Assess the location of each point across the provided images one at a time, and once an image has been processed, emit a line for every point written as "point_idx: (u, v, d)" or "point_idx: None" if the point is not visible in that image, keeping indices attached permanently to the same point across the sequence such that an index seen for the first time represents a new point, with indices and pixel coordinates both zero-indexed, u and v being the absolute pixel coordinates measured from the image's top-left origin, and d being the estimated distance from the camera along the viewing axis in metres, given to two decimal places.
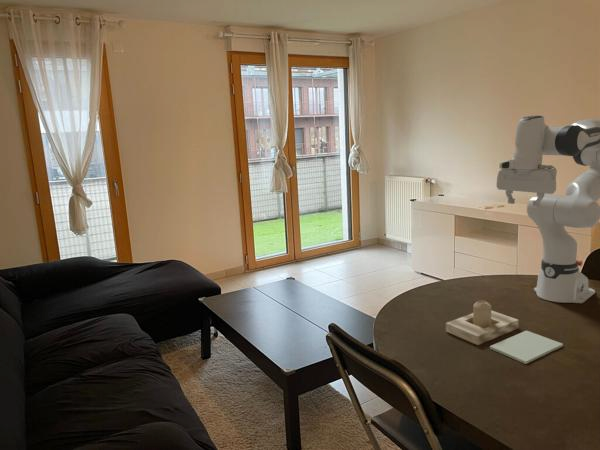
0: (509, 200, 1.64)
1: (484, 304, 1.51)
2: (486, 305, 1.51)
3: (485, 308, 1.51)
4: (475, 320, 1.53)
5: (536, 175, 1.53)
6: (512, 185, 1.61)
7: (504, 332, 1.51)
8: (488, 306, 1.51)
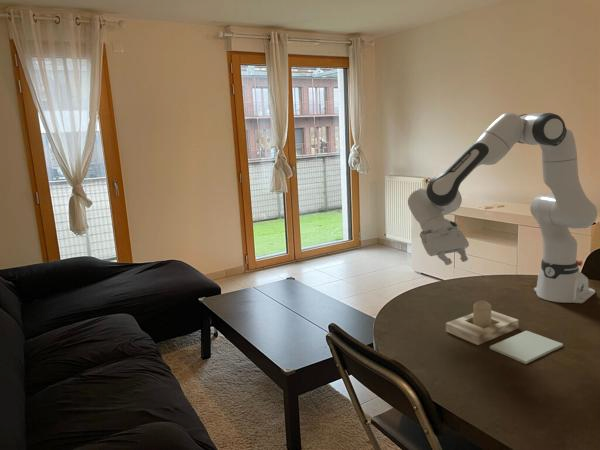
0: None
1: (484, 304, 1.51)
2: (486, 305, 1.51)
3: (485, 308, 1.51)
4: (475, 320, 1.53)
5: None
6: None
7: (504, 332, 1.51)
8: (488, 306, 1.51)
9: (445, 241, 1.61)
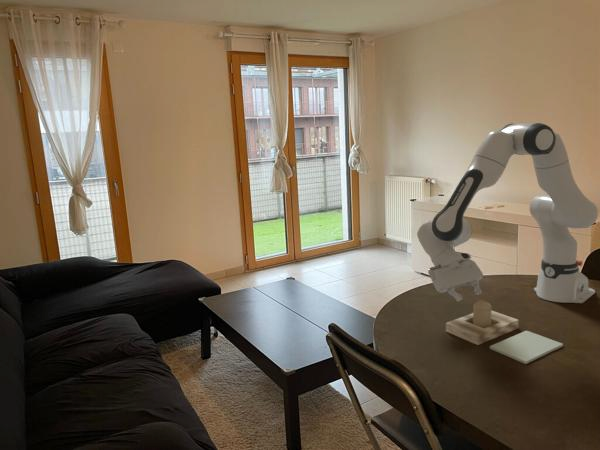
0: None
1: (484, 304, 1.51)
2: (486, 305, 1.51)
3: (485, 308, 1.51)
4: (475, 320, 1.53)
5: None
6: None
7: (504, 332, 1.51)
8: (488, 306, 1.51)
9: (455, 276, 1.58)
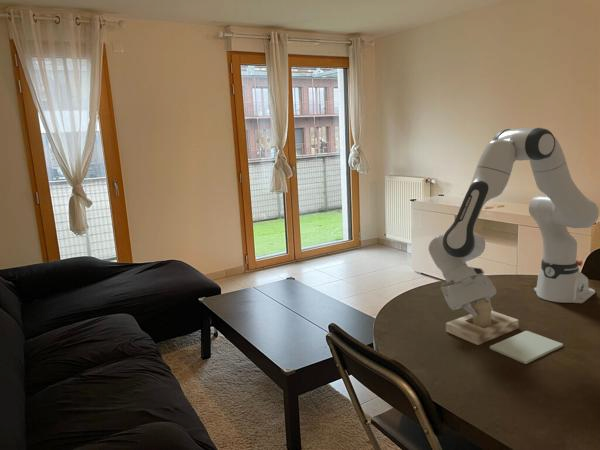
0: None
1: (484, 304, 1.51)
2: (486, 305, 1.51)
3: (485, 308, 1.51)
4: (475, 320, 1.53)
5: None
6: None
7: (504, 332, 1.51)
8: (488, 306, 1.51)
9: (469, 292, 1.55)
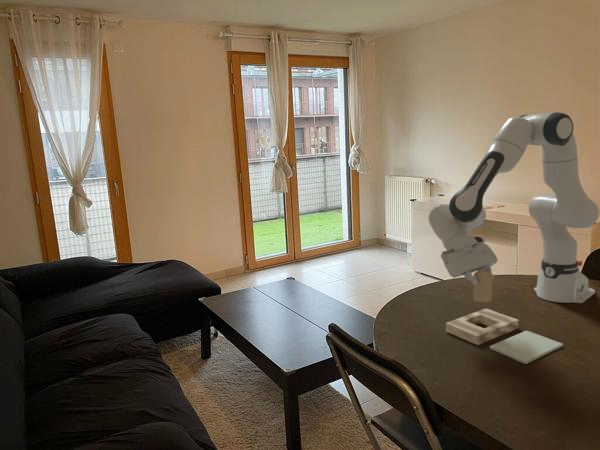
0: None
1: (485, 273, 1.49)
2: (487, 273, 1.49)
3: (486, 276, 1.49)
4: (476, 289, 1.51)
5: None
6: None
7: (504, 332, 1.51)
8: (489, 274, 1.49)
9: (469, 260, 1.52)
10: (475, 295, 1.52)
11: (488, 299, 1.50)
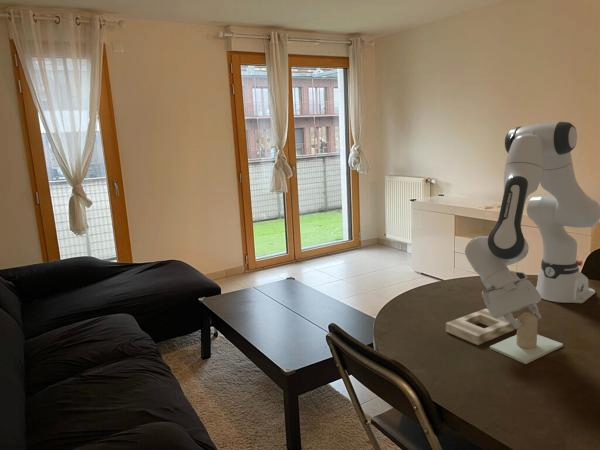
0: None
1: (530, 317, 1.38)
2: (532, 318, 1.38)
3: (531, 321, 1.37)
4: (519, 334, 1.40)
5: None
6: None
7: (504, 332, 1.51)
8: (534, 319, 1.38)
9: (512, 299, 1.40)
10: (518, 340, 1.40)
11: (533, 345, 1.39)
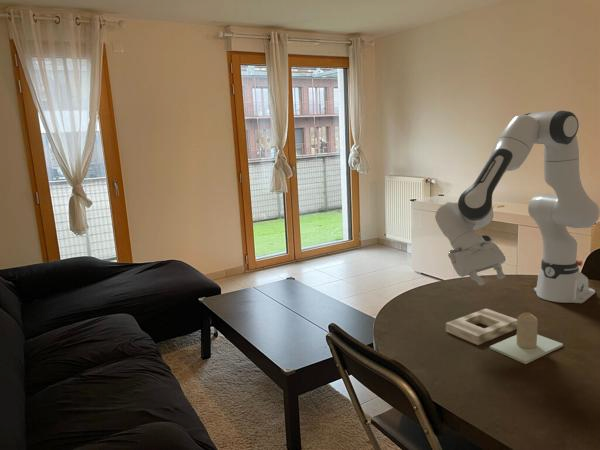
0: None
1: (530, 317, 1.38)
2: (532, 318, 1.38)
3: (531, 321, 1.37)
4: (519, 334, 1.40)
5: None
6: None
7: (504, 332, 1.51)
8: (534, 319, 1.38)
9: (477, 259, 1.49)
10: (518, 340, 1.40)
11: (533, 345, 1.39)
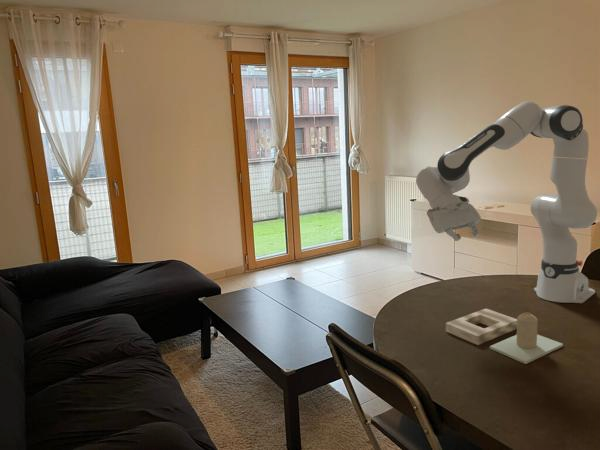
0: None
1: (530, 317, 1.38)
2: (532, 318, 1.38)
3: (531, 321, 1.37)
4: (519, 334, 1.40)
5: None
6: None
7: (504, 332, 1.51)
8: (534, 319, 1.38)
9: (454, 217, 1.60)
10: (518, 340, 1.40)
11: (533, 345, 1.39)
